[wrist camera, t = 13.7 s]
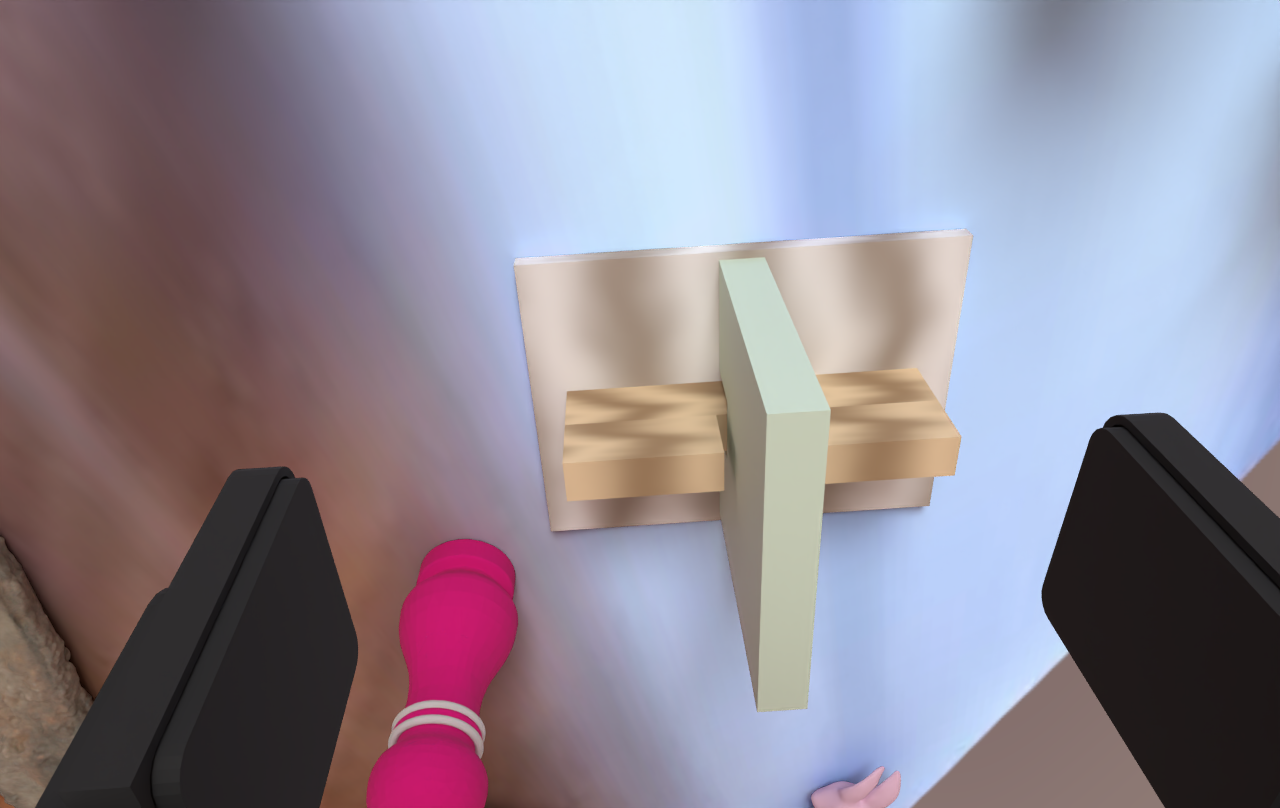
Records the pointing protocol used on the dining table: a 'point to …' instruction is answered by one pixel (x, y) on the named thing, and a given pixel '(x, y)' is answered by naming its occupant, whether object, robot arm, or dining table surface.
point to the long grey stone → (32, 690)
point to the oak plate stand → (691, 381)
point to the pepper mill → (447, 678)
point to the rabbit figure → (859, 792)
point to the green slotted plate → (771, 480)
